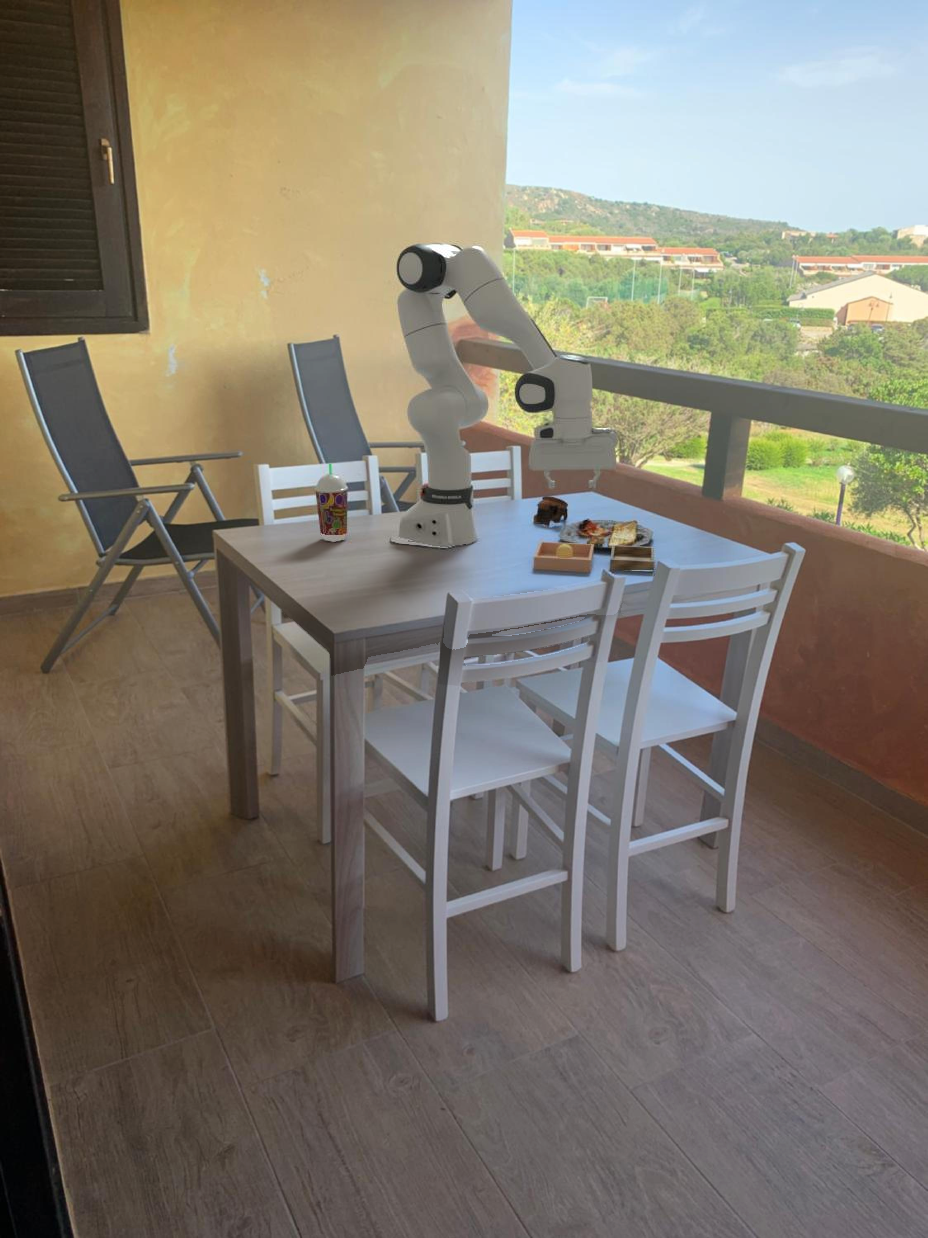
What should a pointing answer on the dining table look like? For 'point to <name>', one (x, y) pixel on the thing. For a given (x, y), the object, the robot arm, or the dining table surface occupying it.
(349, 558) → the dining table surface
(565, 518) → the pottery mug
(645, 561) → the tray
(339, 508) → the smoothie
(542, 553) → the dish
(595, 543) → the food plate
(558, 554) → the ball
